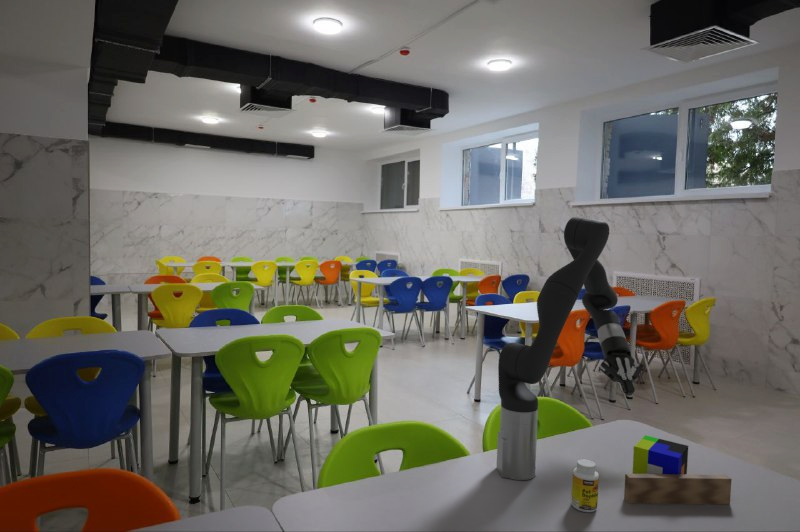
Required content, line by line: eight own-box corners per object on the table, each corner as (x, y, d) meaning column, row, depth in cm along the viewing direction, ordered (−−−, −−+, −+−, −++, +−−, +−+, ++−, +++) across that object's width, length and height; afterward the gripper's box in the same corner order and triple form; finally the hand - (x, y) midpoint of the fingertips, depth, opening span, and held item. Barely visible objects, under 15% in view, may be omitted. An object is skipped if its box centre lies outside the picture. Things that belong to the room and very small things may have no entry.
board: (628, 503, 120) (629, 477, 120) (624, 498, 122) (625, 473, 122) (729, 504, 121) (731, 478, 121) (724, 499, 123) (725, 474, 123)
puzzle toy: (676, 499, 123) (678, 458, 122) (631, 485, 129) (633, 446, 129) (686, 485, 130) (688, 445, 130) (643, 472, 137) (645, 435, 136)
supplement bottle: (580, 514, 115) (582, 469, 114) (566, 502, 120) (568, 458, 119) (602, 512, 116) (604, 467, 115) (588, 500, 121) (590, 456, 121)
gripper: (595, 334, 154) (611, 386, 143) (639, 335, 155) (658, 388, 143) (587, 348, 160) (602, 400, 148) (630, 349, 160) (647, 401, 149)
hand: (630, 394), depth 146 cm, fingers closed
